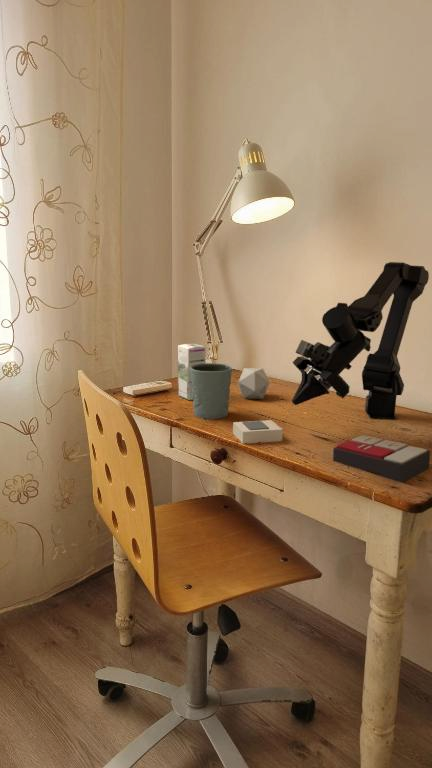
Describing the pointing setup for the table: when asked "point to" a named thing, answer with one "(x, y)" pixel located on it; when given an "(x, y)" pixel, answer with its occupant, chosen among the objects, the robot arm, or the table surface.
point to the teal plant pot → (211, 389)
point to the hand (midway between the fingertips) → (293, 403)
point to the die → (253, 383)
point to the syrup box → (188, 367)
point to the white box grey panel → (257, 431)
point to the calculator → (383, 457)
